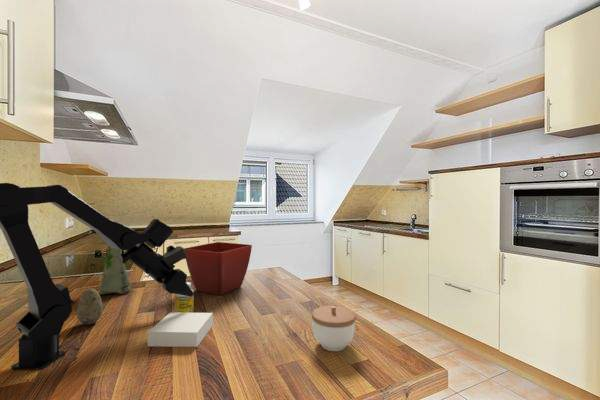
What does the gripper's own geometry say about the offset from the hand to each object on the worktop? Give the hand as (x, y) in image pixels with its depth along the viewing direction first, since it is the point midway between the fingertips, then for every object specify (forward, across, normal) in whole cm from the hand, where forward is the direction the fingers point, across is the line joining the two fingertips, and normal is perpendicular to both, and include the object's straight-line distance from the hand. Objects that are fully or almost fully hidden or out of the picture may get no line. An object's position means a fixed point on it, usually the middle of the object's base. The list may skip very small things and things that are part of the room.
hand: (187, 291), depth 90 cm
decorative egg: (-12, +10, +22) cm, 27 cm away
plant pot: (+18, +18, -8) cm, 26 cm away
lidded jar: (+21, -41, -10) cm, 47 cm away
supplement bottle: (+4, 0, +6) cm, 7 cm away
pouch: (-5, +38, +16) cm, 41 cm away
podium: (+1, -13, +9) cm, 16 cm away
